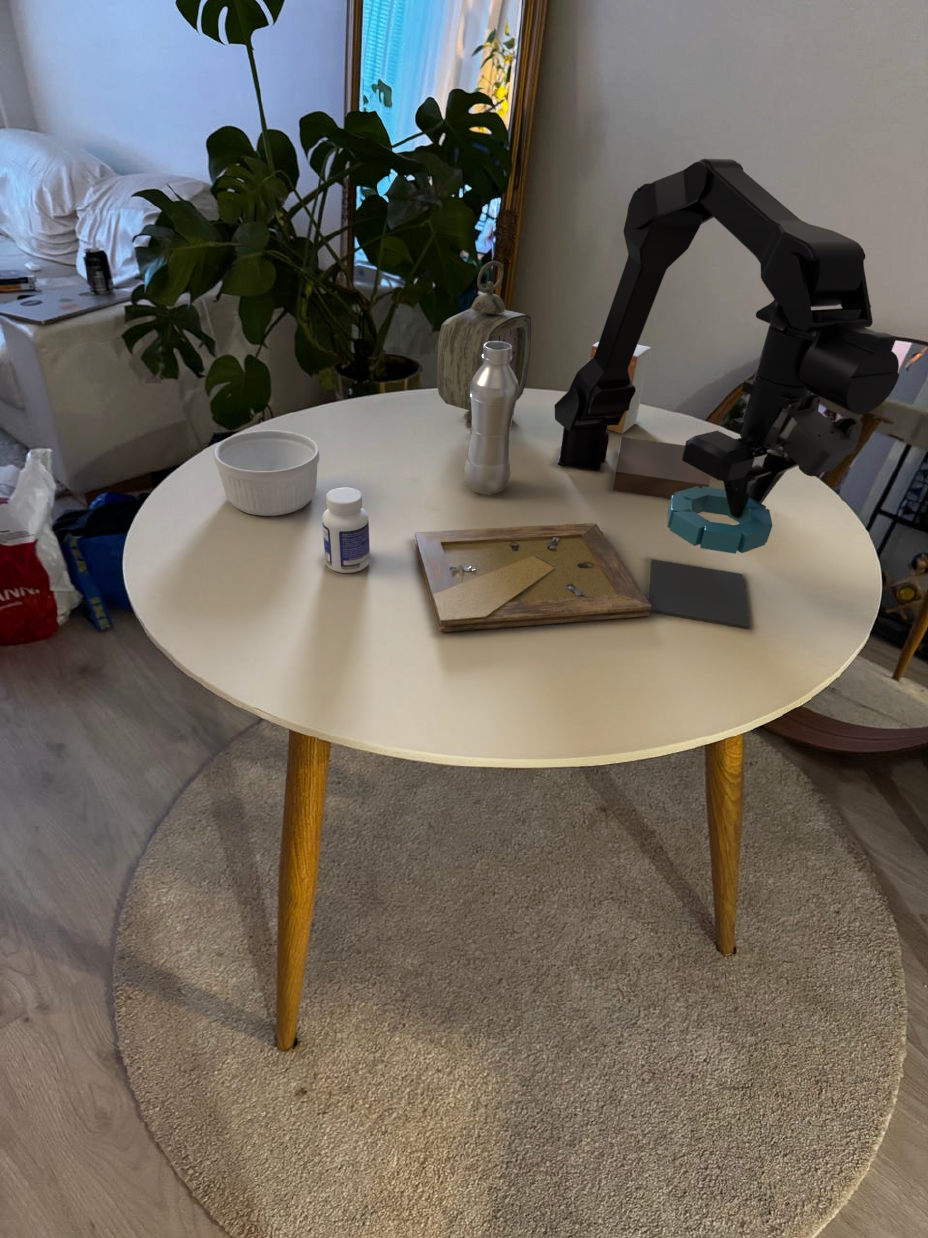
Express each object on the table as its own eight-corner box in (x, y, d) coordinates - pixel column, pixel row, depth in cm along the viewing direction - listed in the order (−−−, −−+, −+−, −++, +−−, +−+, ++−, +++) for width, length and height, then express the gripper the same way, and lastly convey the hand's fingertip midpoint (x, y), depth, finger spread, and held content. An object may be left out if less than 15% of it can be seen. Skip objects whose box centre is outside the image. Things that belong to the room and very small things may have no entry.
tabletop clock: (478, 444, 119) (490, 274, 104) (431, 429, 123) (436, 263, 108) (523, 417, 129) (539, 258, 114) (478, 404, 133) (489, 249, 118)
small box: (578, 422, 129) (590, 344, 121) (593, 411, 133) (606, 335, 125) (623, 434, 125) (638, 355, 118) (636, 423, 130) (652, 346, 122)
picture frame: (439, 633, 80) (649, 617, 84) (440, 620, 79) (652, 604, 83) (414, 542, 94) (594, 532, 99) (414, 530, 93) (596, 520, 98)
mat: (648, 611, 85) (648, 608, 85) (650, 561, 94) (651, 558, 93) (748, 629, 83) (749, 626, 83) (741, 576, 92) (742, 573, 92)
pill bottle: (377, 556, 91) (375, 489, 86) (358, 578, 87) (355, 510, 82) (337, 546, 92) (333, 480, 87) (317, 568, 88) (311, 500, 83)
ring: (667, 543, 80) (671, 525, 79) (667, 498, 89) (671, 481, 87) (769, 559, 79) (776, 541, 77) (760, 512, 87) (766, 495, 86)
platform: (612, 490, 109) (615, 471, 107) (617, 454, 119) (621, 436, 117) (704, 504, 107) (709, 485, 105) (701, 466, 117) (706, 448, 115)
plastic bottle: (456, 493, 105) (464, 348, 93) (473, 474, 110) (483, 334, 98) (499, 504, 104) (513, 357, 92) (515, 484, 109) (530, 342, 97)
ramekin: (298, 468, 109) (294, 422, 105) (338, 507, 100) (336, 459, 96) (207, 487, 103) (199, 439, 99) (242, 531, 94) (234, 480, 90)
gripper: (790, 420, 66) (741, 569, 76) (912, 389, 75) (855, 527, 84) (697, 379, 74) (663, 520, 83) (818, 356, 82) (775, 486, 91)
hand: (742, 513), depth 85 cm, fingers closed on ring, 2 cm apart
